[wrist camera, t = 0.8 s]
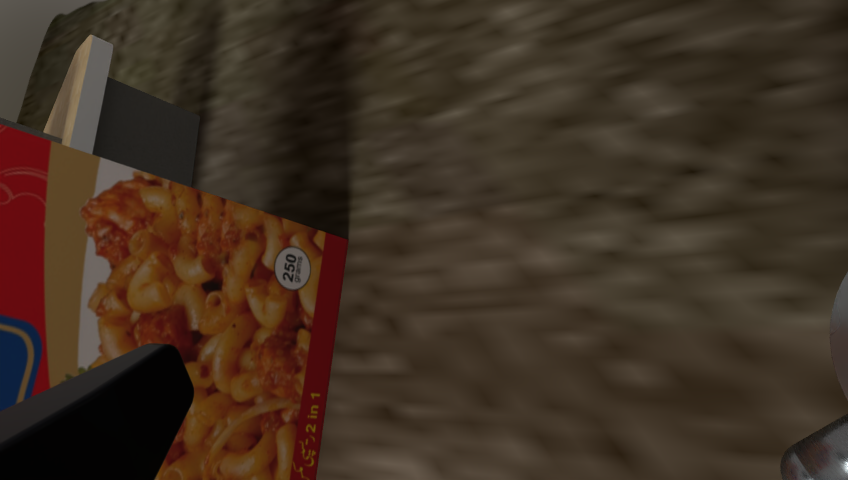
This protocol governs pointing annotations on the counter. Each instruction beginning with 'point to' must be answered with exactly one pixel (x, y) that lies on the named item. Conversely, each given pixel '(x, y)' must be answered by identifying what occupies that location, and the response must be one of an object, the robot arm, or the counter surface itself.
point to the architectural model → (119, 119)
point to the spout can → (840, 440)
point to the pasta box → (169, 303)
